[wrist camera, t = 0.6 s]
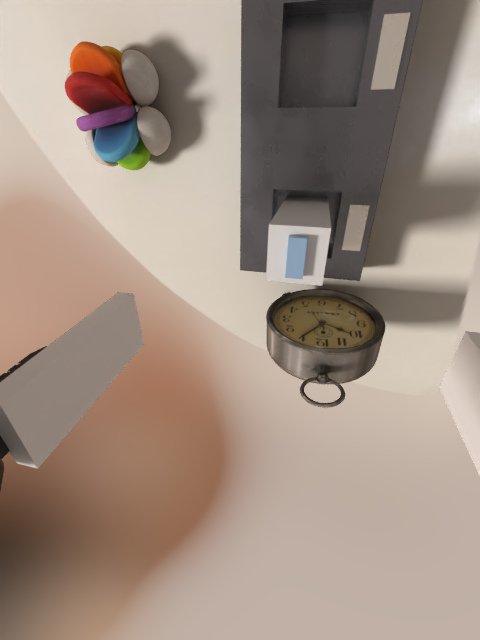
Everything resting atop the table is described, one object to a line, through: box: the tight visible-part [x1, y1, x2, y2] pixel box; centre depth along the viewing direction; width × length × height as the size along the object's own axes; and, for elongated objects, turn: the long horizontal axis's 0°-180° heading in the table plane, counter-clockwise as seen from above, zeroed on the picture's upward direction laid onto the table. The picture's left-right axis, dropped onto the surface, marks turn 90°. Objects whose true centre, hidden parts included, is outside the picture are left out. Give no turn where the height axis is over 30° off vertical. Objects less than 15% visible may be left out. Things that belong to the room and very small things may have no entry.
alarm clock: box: [266, 289, 385, 407], centre depth 29 cm, size 11×5×16 cm, turn 92°
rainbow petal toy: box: [65, 42, 171, 170], centre depth 27 cm, size 8×10×7 cm
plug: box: [266, 196, 331, 286], centre depth 25 cm, size 4×4×13 cm
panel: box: [240, 0, 422, 281], centre depth 26 cm, size 22×12×4 cm, turn 0°
